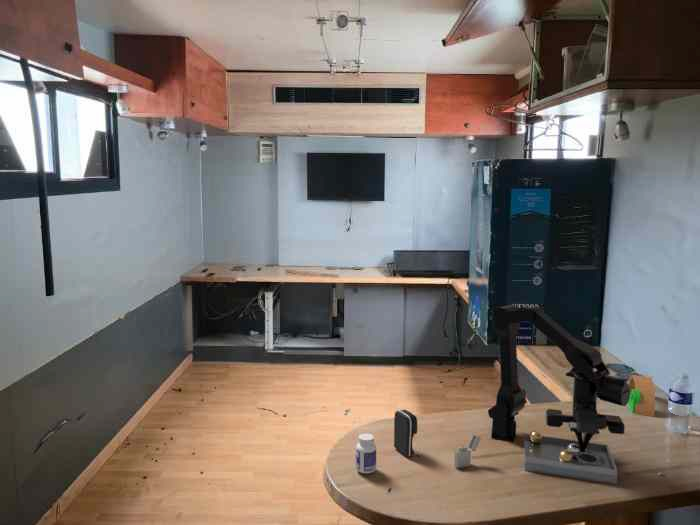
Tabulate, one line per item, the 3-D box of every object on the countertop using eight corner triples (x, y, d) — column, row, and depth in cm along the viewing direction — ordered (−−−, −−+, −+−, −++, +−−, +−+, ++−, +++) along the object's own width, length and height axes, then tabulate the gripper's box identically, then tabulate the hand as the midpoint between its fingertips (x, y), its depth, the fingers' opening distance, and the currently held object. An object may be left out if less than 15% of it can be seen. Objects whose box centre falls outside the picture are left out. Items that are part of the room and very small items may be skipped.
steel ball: (581, 450, 140) (576, 461, 141) (583, 446, 143) (577, 456, 144) (569, 443, 141) (563, 453, 142) (571, 439, 144) (565, 449, 145)
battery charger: (418, 454, 147) (419, 415, 146) (407, 457, 145) (408, 418, 144) (403, 444, 153) (404, 406, 152) (392, 447, 152) (393, 409, 150)
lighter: (457, 468, 140) (458, 439, 139) (453, 465, 142) (455, 436, 141) (479, 463, 143) (481, 435, 142) (476, 460, 145) (477, 432, 144)
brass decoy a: (529, 444, 149) (530, 432, 149) (529, 438, 152) (529, 427, 152) (542, 446, 148) (542, 434, 148) (541, 440, 151) (542, 429, 151)
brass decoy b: (558, 465, 138) (559, 452, 137) (557, 459, 141) (558, 447, 141) (572, 467, 137) (573, 454, 136) (571, 461, 140) (572, 448, 140)
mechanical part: (652, 418, 174) (654, 395, 173) (632, 415, 176) (634, 392, 175) (644, 405, 186) (647, 383, 185) (625, 402, 187) (628, 380, 186)
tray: (524, 470, 140) (525, 457, 139) (523, 445, 154) (524, 433, 153) (616, 485, 133) (617, 471, 133) (606, 457, 148) (607, 444, 147)
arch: (644, 396, 192) (647, 369, 191) (654, 417, 173) (657, 388, 172) (626, 393, 194) (629, 367, 193) (634, 414, 175) (637, 385, 174)
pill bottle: (378, 466, 141) (379, 434, 140) (371, 475, 136) (372, 443, 135) (360, 462, 143) (361, 430, 142) (352, 471, 138) (353, 438, 137)
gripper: (549, 402, 135) (547, 460, 137) (630, 410, 130) (627, 471, 131) (546, 388, 146) (544, 442, 147) (621, 394, 140) (618, 451, 142)
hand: (582, 451), depth 142 cm, fingers closed
